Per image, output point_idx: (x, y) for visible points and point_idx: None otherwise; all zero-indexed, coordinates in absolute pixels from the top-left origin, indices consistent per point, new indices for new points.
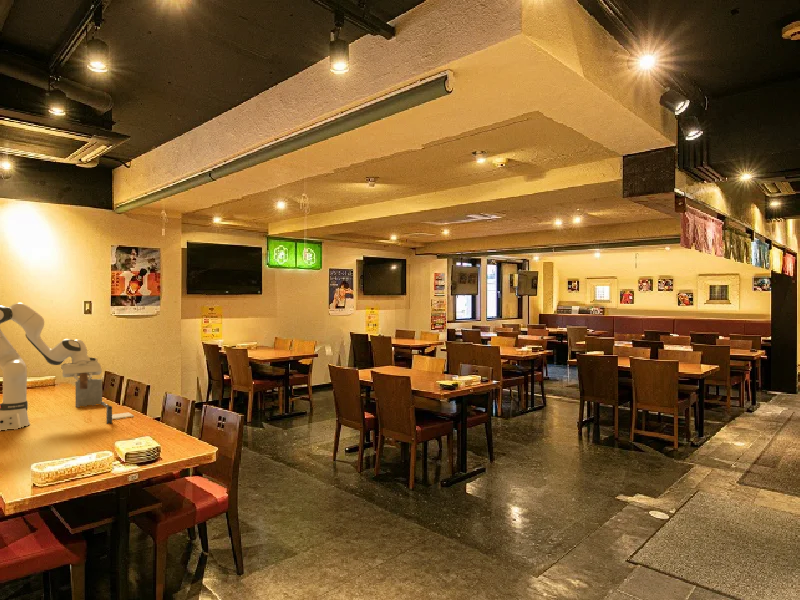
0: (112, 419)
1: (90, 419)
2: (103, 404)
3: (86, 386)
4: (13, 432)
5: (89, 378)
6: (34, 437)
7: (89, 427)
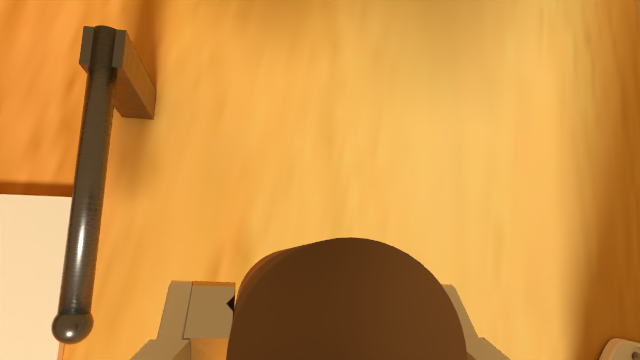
0: None
1: None
2: (98, 225)
3: (262, 259)
4: (625, 264)
5: (193, 290)
6: (542, 54)
7: (274, 77)
